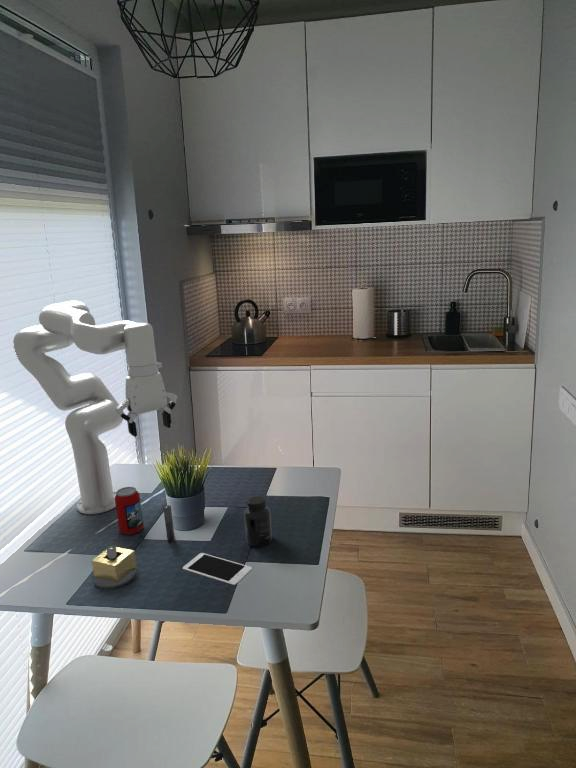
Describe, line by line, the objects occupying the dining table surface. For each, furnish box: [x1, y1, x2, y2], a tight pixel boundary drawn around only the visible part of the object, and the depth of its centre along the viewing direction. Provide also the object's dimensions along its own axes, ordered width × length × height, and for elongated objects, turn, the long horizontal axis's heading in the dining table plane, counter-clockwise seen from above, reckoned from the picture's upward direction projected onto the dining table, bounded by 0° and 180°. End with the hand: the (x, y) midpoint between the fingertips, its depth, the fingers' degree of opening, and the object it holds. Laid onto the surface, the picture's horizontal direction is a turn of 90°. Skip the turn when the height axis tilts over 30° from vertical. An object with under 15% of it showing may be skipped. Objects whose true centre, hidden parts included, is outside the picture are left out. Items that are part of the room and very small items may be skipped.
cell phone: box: [182, 552, 253, 586], centre depth 146 cm, size 8×16×1 cm, turn 60°
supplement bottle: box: [243, 495, 273, 548], centre depth 155 cm, size 7×7×12 cm
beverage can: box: [115, 486, 144, 535], centre depth 165 cm, size 7×7×12 cm
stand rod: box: [162, 504, 176, 543], centre depth 158 cm, size 2×2×10 cm
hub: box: [93, 545, 138, 590], centre depth 143 cm, size 10×10×8 cm
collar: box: [91, 546, 137, 583], centre depth 143 cm, size 7×7×4 cm
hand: (150, 430), depth 161 cm, fingers open, 9 cm apart
